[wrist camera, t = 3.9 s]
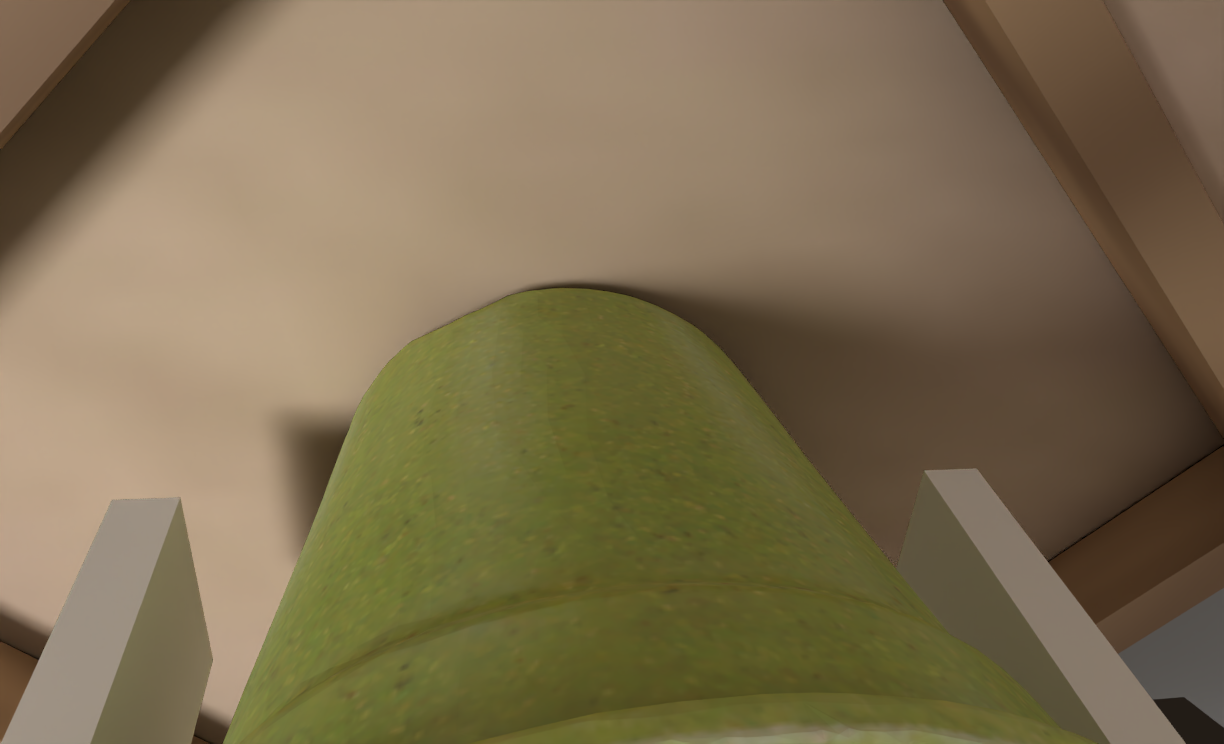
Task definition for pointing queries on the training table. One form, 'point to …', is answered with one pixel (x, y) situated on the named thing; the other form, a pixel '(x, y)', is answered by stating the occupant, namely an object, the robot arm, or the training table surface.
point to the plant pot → (600, 562)
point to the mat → (1185, 658)
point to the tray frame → (1095, 183)
